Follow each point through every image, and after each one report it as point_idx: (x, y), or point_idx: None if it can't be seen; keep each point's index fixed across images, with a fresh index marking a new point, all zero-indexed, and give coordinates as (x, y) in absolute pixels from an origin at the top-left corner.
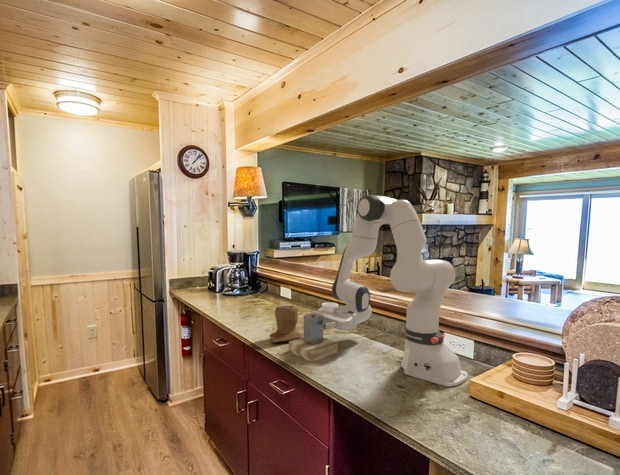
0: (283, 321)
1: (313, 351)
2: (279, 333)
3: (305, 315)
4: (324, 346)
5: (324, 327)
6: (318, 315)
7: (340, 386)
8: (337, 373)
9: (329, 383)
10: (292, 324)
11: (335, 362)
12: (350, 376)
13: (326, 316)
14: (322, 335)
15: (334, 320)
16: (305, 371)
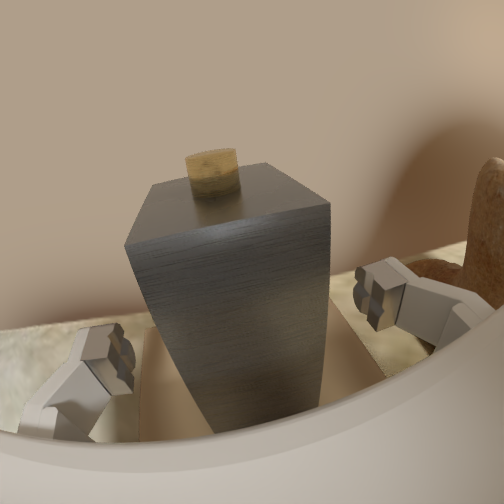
0: (469, 233)
1: (145, 343)
2: (447, 276)
3: (256, 166)
4: (151, 413)
5: (132, 359)
6: (173, 213)
7: (17, 346)
8: (43, 382)
9: (39, 337)
10: (489, 283)
11: (92, 436)
12: (12, 395)
13: (301, 434)
14: (205, 413)
15: (36, 436)
16: (121, 322)
